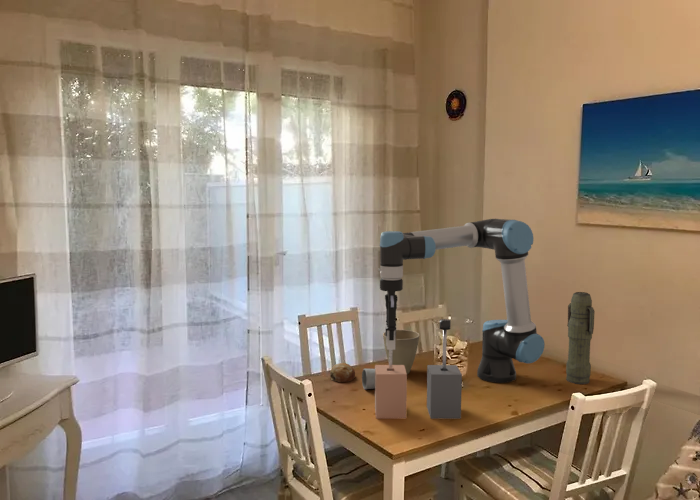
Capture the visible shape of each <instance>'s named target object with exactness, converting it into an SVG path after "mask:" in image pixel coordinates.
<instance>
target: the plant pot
mask: <svg viewBox="0 0 700 500" xmlns="http://www.w3.org/2000/svg"><path fill="white" fill-rule="evenodd" d="M382 336H383V337H382V339H383V344H384V349H385V354H386V358H387V362H388V363H389V350H387V346H386V336H385V331H384V332H383V333H382ZM419 340H420V333H419V332H417V331H413V330H410V329H409V330H407V329H396V336H395V350H393V352H392V365H404V366H405V370H406V373H407V375H408V374H410V372H411V371H412V370H411V369H413V368H412V367H413V364H414V361H415V360H416V359H415V358H416V355H417V351H418V347H419Z"/></svg>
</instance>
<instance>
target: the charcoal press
mask: <svg viewBox="0 0 700 500" xmlns="http://www.w3.org/2000/svg"><path fill="white" fill-rule="evenodd" d="M426 381H427V382H426V408H427V409H426V410H427V413H428V415H429V418H430V419H438V420H439V419H440V420H441V419H442V420H443V419H444V420H446V419H449V420H450V419H451V420H452V419H455V420H457V419H462V390H463V389H462V386H463V385H462V384H463V383H462V381H463V374H462V373H461V370H460V369H459V367H458V366H457V364H446V371H442V364H427V368H426Z"/></svg>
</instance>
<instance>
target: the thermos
mask: <svg viewBox="0 0 700 500" xmlns="http://www.w3.org/2000/svg"><path fill="white" fill-rule="evenodd" d="M594 328H595V309H594V307H593V300H592V297H591V294H590V293H588V292H585V291H584V292H583V291H576V292H574V293H573V294H572V296H571V300H570V303H569V304H568V306H567V329H568V330H567V337H568V350H567V351H568V353H567V354H568V355H567V356H568V357H567V358H568V359H567V361H566V364H565V365H566V366H565V367H566V368H565V372H566V373H565V374H566V378H565V379H566V381H567V382H568V383H571V384H576V385H587V384H589V383H590V378H591V368H592V366H591V365H592V364H591V362H590V359H591V358H590V357H591V355H590V354H591V341H592V338H593V334H594Z"/></svg>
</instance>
